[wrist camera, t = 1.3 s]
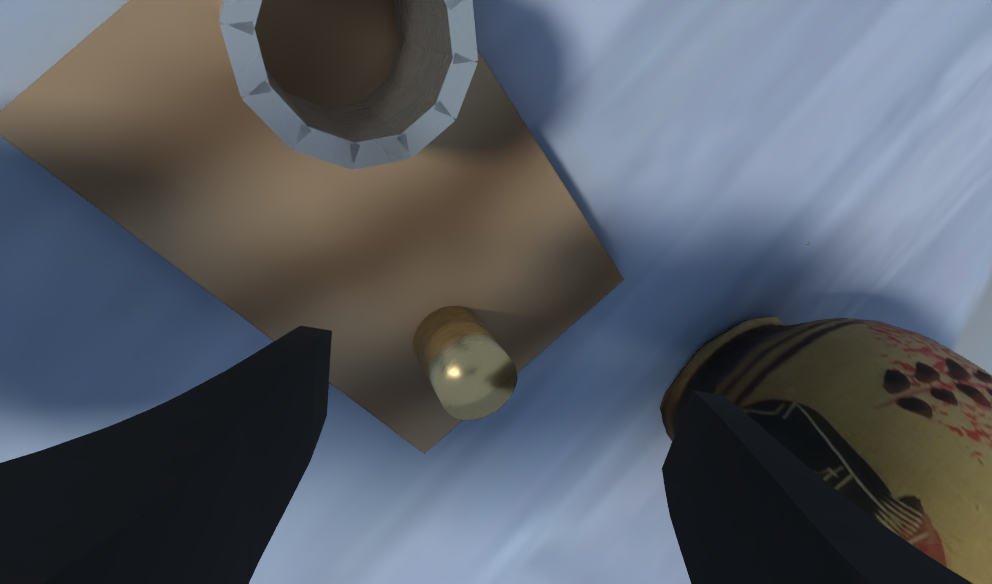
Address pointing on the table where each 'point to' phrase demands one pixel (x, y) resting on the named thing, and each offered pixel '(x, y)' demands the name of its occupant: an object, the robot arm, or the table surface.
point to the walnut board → (317, 192)
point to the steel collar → (388, 107)
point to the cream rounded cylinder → (464, 363)
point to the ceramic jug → (867, 422)
